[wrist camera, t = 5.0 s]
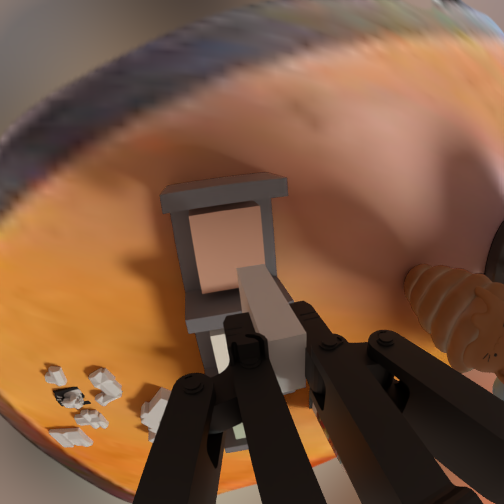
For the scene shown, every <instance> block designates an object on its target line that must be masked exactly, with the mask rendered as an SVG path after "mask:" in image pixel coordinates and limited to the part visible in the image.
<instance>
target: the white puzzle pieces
mask: <svg viewBox="0 0 504 504" xmlns="http://www.w3.org/2000/svg"><path fill="white" fill-rule="evenodd" d="M48 371H49V372H46V374H45V380H46V382H48V383H54V384H56V385H58V386H62V385H66V382H67V379H66V377H65V375H64V373H63V371H62V368H61V367H56V366H50V367H49V369H48ZM88 379H89V380H90V381H91V382H92V384H93V385H94V387H96V388H99V389H101V390H102V391H103V392H101V393H99V394H97V395H96V396H95V400H96V401H97V402H98V403H99V404H100V405H102V406H106V405H107V404H108V403H109V402H111V401H113V400H115V399H117V398H119V397H121V396H122V391H121V387H122V385H120V384H119V383H118V382H117V381H116V380H115V376H114V375H112V374H111V373H110V372H109V371H108V370H107V369H106V368H105V369H103V368H102V367H101V368H100V369H98V370H96V371H94V372H93V373H91V374H90V375H89V378H88ZM53 392H54V393H55V398H56V400H57V401H58V403H59V404H60V405H61V406H65V407H66V408H76V409H79V408H81V407H83V405H85V404H91V403H90V402H89V401H84V400H83V398H84V395H83V393H82V392H81V391H80V390H79V389H78V387H71V388H65V389H59V390H54V391H53ZM170 394H171V391H170V390H168V389H165V388H163V387H161V388H160V389H159V391H158V392H157V393H156V395H155V396H154V397H153V398H152V400H151V401H150V402H144V404H143V405H142V406H141V416H140V417H141V423H143V424H144V425H146V426H148V430H149V438H148V441H150V442H152V443H153V441H154V439H155V436H156V433H157V430H158V427H159V424H160V422H161V419H162V416H163V413H164V410H165V408H166V405H167V402H168V399H169V397H170ZM74 419H75V420H76V423H77V424H80V425H91V426H92V427H93V428H95V429H97V428H98V427H100V426H101V427H102V428H104V429H105V428H107V427H108V424H109V422H108V421H107V420H106V419H105V417H104V416H103V415H102V414H101V413H99V412H98V411H97V410H91V411H89V409H86V410H81V413H80V414H76V415H75V417H74ZM49 434H50V435H51V436H52V437H53V438H55V439H56V440H57V441H58V442H59V443H60V444H61V445H62V446H63V447H74V445H77V446H80V445H82V446H85V447H88V446H91V445H93V441H92V440H91V439H90V438H89V437H88V436H87V435H86V434H85V433H84V432H83V431H82V430H81V429H80V428H66V429H50V430H49Z"/></svg>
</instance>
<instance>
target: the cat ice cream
mask: <svg viewBox="0 0 504 504" xmlns="http://www.w3.org/2000/svg"><path fill="white" fill-rule="evenodd" d="M404 291H405V295H406V298H407V299H408V301H409V302H410V304H411V307H412V309H413V311H414V312H415V314H416V315H417V316H418V320H419V323H420V325H421V326H422V328H423V329H424V330H425V331H426V332H428V333H430V334H431V336H432V340H433V342H434V344H435V347H437V348H438V349H439V350H440V351H442V352H444V353H447V357H448V361H449V363H450V365H451V367H452V368H453V369H454V370H456V371H458V372H461V373H464V372H468V371H471V370H472V369H476V370H478V371H481V372H489V373H490V372H492V373H495V374H496V376H497V377H498V379H499V380H500V381H501V382H502V383H503V384H504V284H502V283H498V282H492V281H491V280H490V279H489V278H488V277H487V276H486V275H484V274H481V273H475V274H472V273H471V272H469V271H467V270H465V269H461V268H456V269H453V268H451V267H448V266H444V265H438V266H434V267H432V266H430V265H428V264H420V265H417V266H415V267H414V268H413V269H411V270H410V271H409V273H408V274H407V276H406V278H405V282H404Z"/></svg>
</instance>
